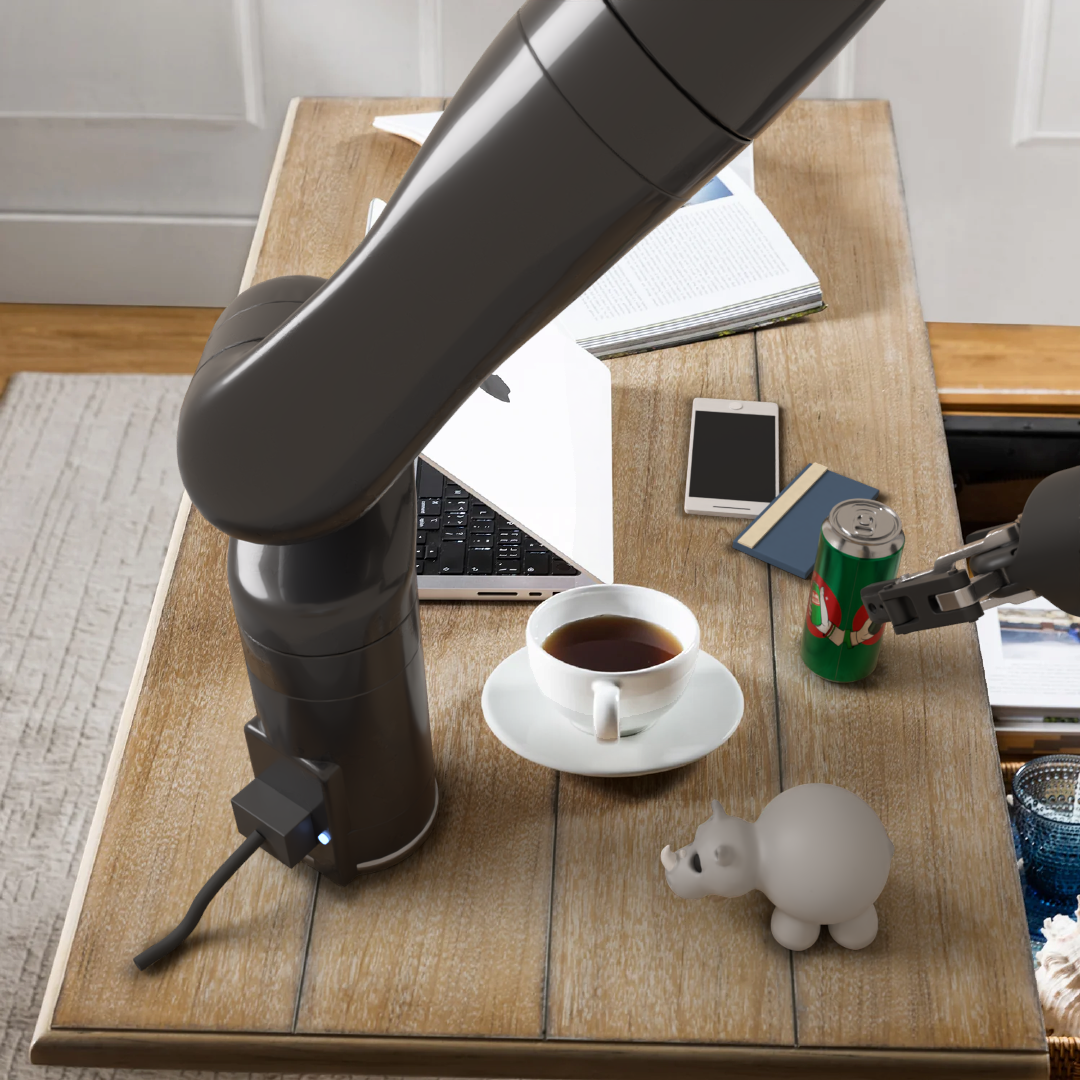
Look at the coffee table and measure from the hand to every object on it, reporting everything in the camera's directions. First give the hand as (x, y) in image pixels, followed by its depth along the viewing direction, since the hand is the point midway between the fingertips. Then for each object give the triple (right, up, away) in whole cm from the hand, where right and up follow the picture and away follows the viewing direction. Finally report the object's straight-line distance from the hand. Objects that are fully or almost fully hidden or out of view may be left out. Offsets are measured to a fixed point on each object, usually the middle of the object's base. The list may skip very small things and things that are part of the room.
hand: (923, 577), depth 74 cm
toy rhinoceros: (-10, -18, -4) cm, 21 cm away
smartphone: (-7, +8, +28) cm, 30 cm away
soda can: (-3, -6, +10) cm, 12 cm away
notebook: (-2, +4, +22) cm, 22 cm away
